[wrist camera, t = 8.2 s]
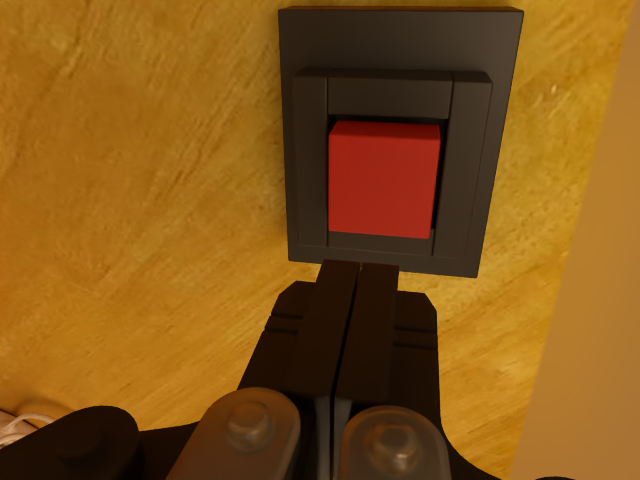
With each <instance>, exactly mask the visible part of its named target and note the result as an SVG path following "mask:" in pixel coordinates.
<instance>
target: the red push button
mask: <svg viewBox="0 0 640 480" xmlns="http://www.w3.org/2000/svg"><path fill="white" fill-rule="evenodd" d="M523 17H524V11H523V10H520V9H517V8H514V7H422V6H291V7H287V8H282V9H279V10H278V22H279V46H280V70H281V94H282V118H283V142H284V166H285V190H286V214H287V238H288V260H289V261H294V262H305V263H316V264H322V262H323V260H324V259H333V260H345V261H356V262H360V263H361V268H362V264H363V262H368V263H379V264H390V265H399V271H402V272H413V273H424V274H434V275H445V276H456V277H467V278H477V276H478V270H479V264H480V259H481V253H482V247H483V242H484V236H485V231H486V225H487V219H488V214H489V208H490V202H491V197H492V191H493V186H494V180H495V174H496V169H497V163H498V157H499V152H500V146H501V141H502V135H503V129H504V124H505V118H506V113H507V107H508V101H509V96H510V90H511V84H512V79H513V73H514V68H515V62H516V56H517V51H518V45H519V39H520V34H521V28H522V23H523ZM338 120H345V121H369V122H392V123H415V124H437V125H439V131H440V140H441V142H440V151H439V159H438V168H437V176H436V185H435V194H434V202H433V211H432V219H431V228H430V236H429V238H428V239H424V238H412V237H399V236H387V235H375V234H362V233H350V232H338V231H329V229H328V172H329V134H330V132H331V131H332V129H333V127H334V125H335V124H336V122H337V121H338Z"/></svg>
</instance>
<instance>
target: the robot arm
mask: <svg viewBox="0 0 640 480" xmlns="http://www.w3.org/2000/svg"><path fill="white" fill-rule="evenodd" d="M398 276H399V265H390V264H379V263H368V262H363V264H362V268H361V263H360V262H356V261H345V260H333V259H324V260H323V262H322V265H321V268H320V271H319V274H318V277H317V280H316V282H305V281H295V282H294V283H292V284H291V285H290V286H289V287H288V288H286V289H285V290H284V291H283V292H282V293H280V294H279V296H278V298H277V300H276V303H275V305H274V307H273V309H272V312H271V316H269V318H268V321H267V323H266V325H265V329H264V331H263V332H262V334H261V336H260V339H259V341H258V343H257V345H256V348H255V350H254V352H253V354H252V357H251V359H250V361H249V363H248V366H247V368H246V370H245V372H244V375H243V377H242V379H241V381H240V383H239V386H238V388H237V390H236V391H233V392H231V393H228V394H226V395H224V396H223V397H221V398H219V399H218V400H217V401H215V402H214V403H213V404H212V405H211V406H210V407H209V408H208V409H207V411H206V412H205V414H204V415H203V417H202V418H201V420H200V421H198V422H194V423H191V424H187V425H182V426H176V427H168V428H161V429H154V430H146V431H139V430H138V427H137V424H136V422H135V420H134V418H133V417H132V416H131V415H130V414H129V413H128V412H126V411H125V410H123V409H120V408H118V407H113V406H93V407H88V408H84V409H81V410H78V411H75V412H72V413H70V414H68V415H66V416H64V417H62V418H60V419H58V420H56V421H54V422H52V423H50V424H48V425H46V426H44V427H42V428H40V429H38V430H36V431H34V432H32V433H30V434H28V435H26V436H24V437H22V438H20V439H18V440H17V441H15V442H13V443H11V444H9V445H7V446H5V447H3V448H1V449H0V480H333V479H334V480H501V479H499V478H497V477H495V476H492V475H490V474H488V473H486V472H484V471H482V470H480V469H478V468H477V467H475V466H474V465H472V464H471V463H469V462H468V461H467V460H466V459H464V458H463V457H462V456H461V455H460V454H459V453H458V452H457V451H456V450H455V449H454V448H453V446H452V445H451V443H450V442H449V441H448V439H447V437H446V435H445V433H444V430H443V427H442V424H441V417H440V390H439V363H438V336H437V311H436V309H435V308H434V306H433V305H432V303H431V302H430V300H429V299H428V297H427V296H426V294H425V293H418V292H407V291H397V288H398ZM536 480H574V479H570V478H566V477H556V476H555V477H544V478H539V479H536Z"/></svg>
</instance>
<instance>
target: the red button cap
mask: <svg viewBox="0 0 640 480" xmlns="http://www.w3.org/2000/svg"><path fill="white" fill-rule="evenodd" d="M440 142H441V140H440V131H439V125H437V124H415V123H392V122H369V121H345V120H338V121H337V122H336V124H335V125H334V127H333V129H332V131H331V132H330V134H329V172H328V229H329V231H338V232H350V233H362V234H375V235H387V236H399V237H412V238H424V239H428V238H429V236H430V228H431V219H432V211H433V202H434V194H435V185H436V176H437V168H438V159H439V151H440Z"/></svg>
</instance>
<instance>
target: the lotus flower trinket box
mask: <svg viewBox="0 0 640 480" xmlns="http://www.w3.org/2000/svg"><path fill="white" fill-rule="evenodd" d="M26 418H35V419H39V420H42V421H45V422H47V423H52V422H54V421H56V419H54V418H52V417H50V416H48V415H45V414H42V413H37V412H27V413H23V414H21V415H19V416H18V417H14V416H12V415H10V414H7V413H5V412H2V411H0V449H1V448H3V447H5V446H7V445H9V444H11V443H13V442H15V441H17V440H18V439H20V438H22V437H24V436H26V435H28V434H30V433H32V432H34V431H36V430H38V429H36V428H34V427H33V426H31V425H29V424H28V423H26V422H24V421H22V420H23V419H26Z"/></svg>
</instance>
